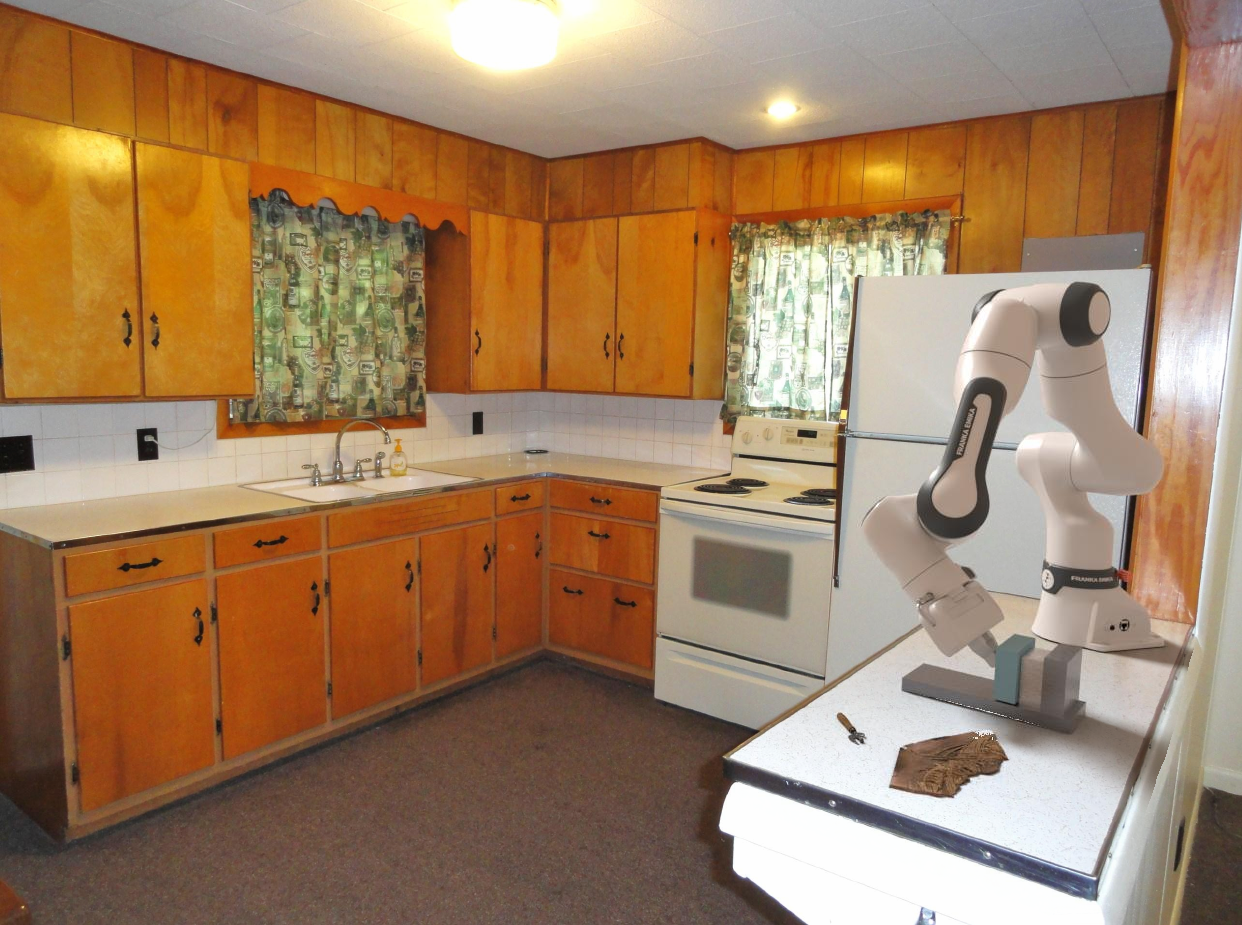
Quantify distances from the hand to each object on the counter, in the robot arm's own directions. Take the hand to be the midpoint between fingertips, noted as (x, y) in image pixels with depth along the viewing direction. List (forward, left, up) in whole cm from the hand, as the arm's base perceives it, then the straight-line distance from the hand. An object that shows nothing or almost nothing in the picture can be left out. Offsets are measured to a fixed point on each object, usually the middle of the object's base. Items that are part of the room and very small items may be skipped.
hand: (999, 663), depth 126 cm
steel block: (-4, +4, -4) cm, 7 cm away
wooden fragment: (+16, +17, -7) cm, 24 cm away
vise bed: (+1, -1, -6) cm, 6 cm away
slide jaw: (-2, +2, -4) cm, 5 cm away
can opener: (+26, +8, -7) cm, 28 cm away
